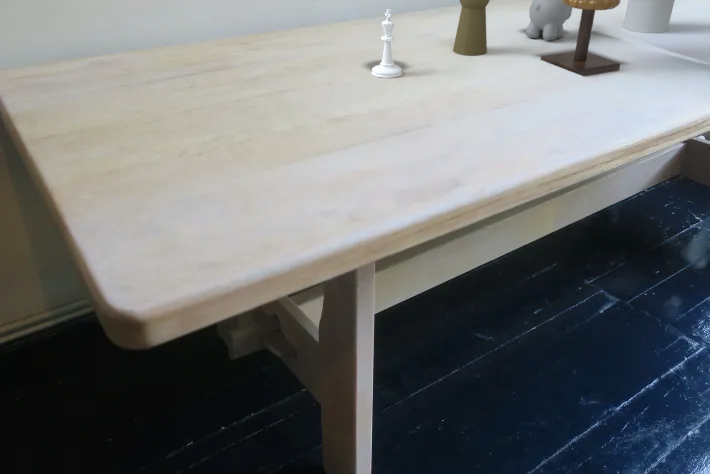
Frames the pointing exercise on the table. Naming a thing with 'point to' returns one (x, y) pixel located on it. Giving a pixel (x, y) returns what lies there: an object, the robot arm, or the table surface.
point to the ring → (592, 4)
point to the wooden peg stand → (583, 53)
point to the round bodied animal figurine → (547, 19)
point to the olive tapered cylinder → (471, 28)
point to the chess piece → (387, 52)
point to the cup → (648, 16)
